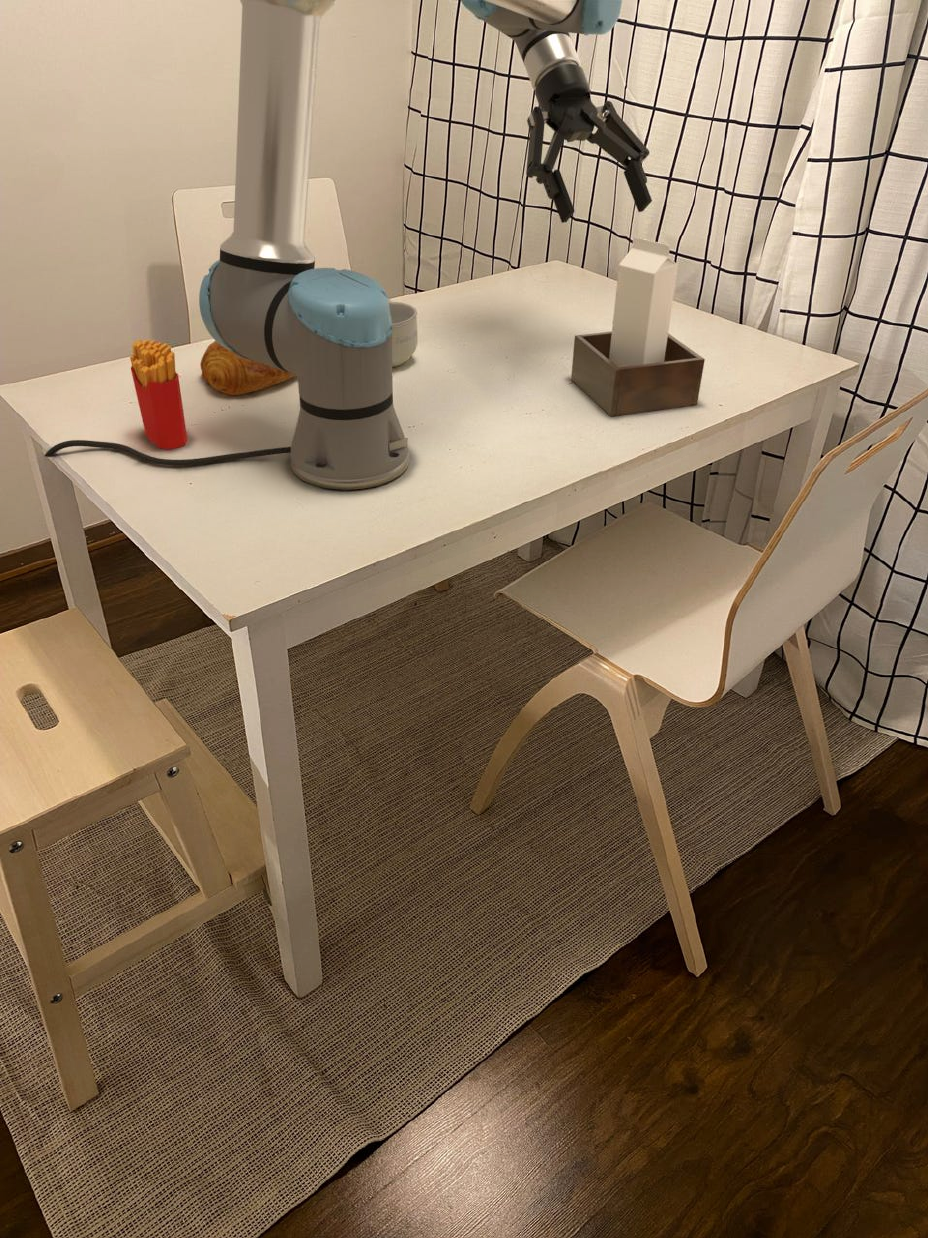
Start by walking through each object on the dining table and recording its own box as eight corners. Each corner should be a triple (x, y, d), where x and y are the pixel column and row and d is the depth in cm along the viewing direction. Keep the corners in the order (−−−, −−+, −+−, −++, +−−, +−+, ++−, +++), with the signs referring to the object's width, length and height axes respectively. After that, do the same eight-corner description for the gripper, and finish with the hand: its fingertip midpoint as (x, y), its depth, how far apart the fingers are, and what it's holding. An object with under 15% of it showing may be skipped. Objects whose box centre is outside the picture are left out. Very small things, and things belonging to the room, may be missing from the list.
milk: (637, 403, 142) (657, 250, 129) (604, 391, 145) (620, 240, 132) (660, 391, 146) (682, 240, 132) (627, 380, 149) (645, 232, 136)
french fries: (138, 431, 132) (119, 338, 124) (167, 423, 134) (151, 331, 127) (167, 455, 126) (149, 360, 119) (197, 446, 129) (181, 352, 121)
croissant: (318, 390, 149) (321, 339, 145) (232, 405, 139) (232, 351, 135) (263, 362, 157) (265, 312, 153) (178, 374, 147) (177, 321, 143)
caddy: (610, 416, 138) (616, 369, 134) (570, 379, 149) (574, 335, 145) (697, 404, 142) (704, 358, 138) (652, 369, 153) (658, 325, 148)
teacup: (408, 376, 149) (407, 325, 144) (341, 370, 150) (338, 319, 146) (429, 344, 160) (428, 296, 155) (366, 339, 161) (364, 291, 157)
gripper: (614, 91, 149) (662, 216, 147) (474, 102, 139) (523, 236, 137) (639, 56, 142) (689, 186, 140) (493, 65, 132) (545, 205, 131)
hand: (607, 211), depth 139 cm, fingers open, 13 cm apart
